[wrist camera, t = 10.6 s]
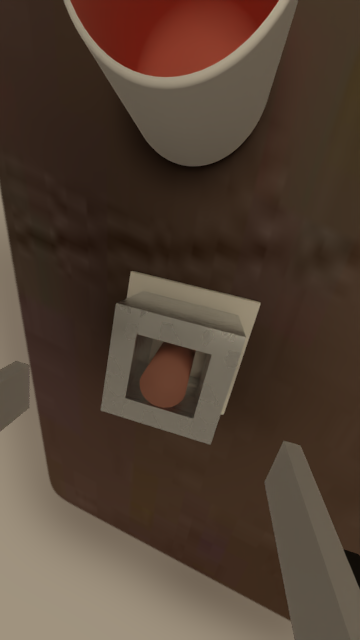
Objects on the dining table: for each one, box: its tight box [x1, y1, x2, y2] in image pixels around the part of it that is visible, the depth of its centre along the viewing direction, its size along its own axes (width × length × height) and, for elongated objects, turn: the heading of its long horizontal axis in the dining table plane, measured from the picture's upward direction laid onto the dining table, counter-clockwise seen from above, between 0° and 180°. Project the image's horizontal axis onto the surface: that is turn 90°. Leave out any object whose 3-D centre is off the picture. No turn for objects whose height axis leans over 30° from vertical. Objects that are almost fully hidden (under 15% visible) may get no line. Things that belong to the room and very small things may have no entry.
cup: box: [64, 0, 298, 166], centre depth 13 cm, size 10×10×10 cm
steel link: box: [101, 291, 246, 445], centre depth 19 cm, size 9×9×6 cm
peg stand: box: [127, 271, 261, 415], centre depth 19 cm, size 12×12×8 cm
